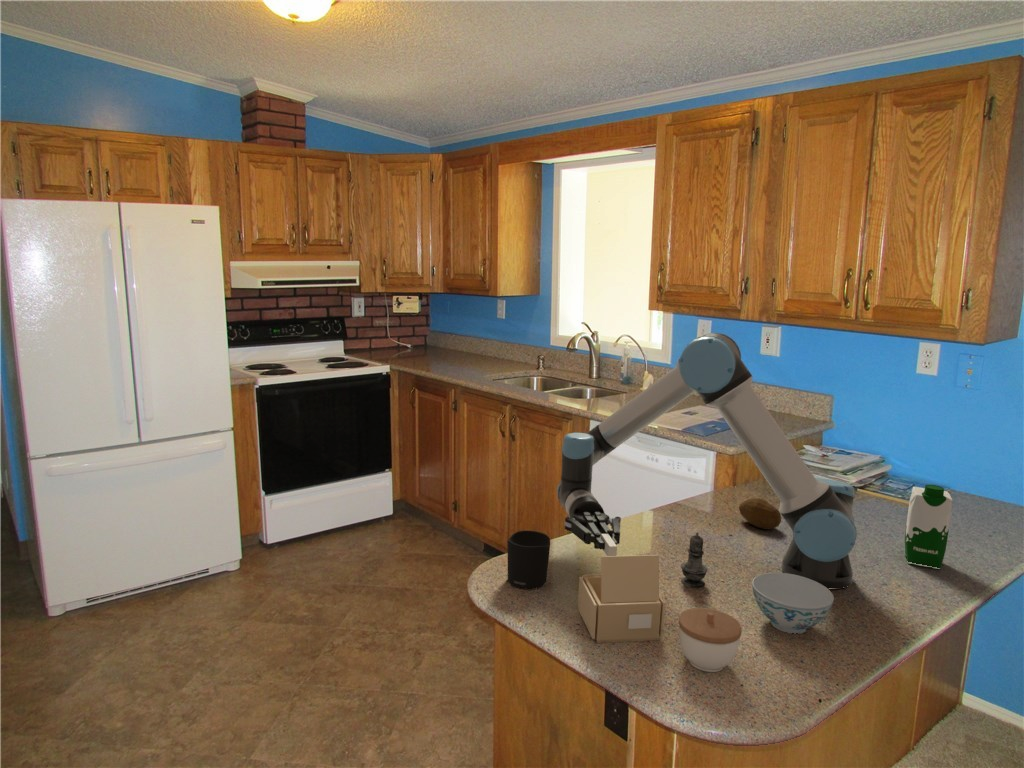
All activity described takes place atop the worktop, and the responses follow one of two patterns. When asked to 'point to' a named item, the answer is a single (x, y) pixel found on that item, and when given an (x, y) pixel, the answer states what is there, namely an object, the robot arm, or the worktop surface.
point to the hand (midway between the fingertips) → (613, 552)
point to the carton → (618, 615)
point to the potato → (760, 513)
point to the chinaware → (791, 601)
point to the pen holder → (528, 559)
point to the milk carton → (928, 525)
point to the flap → (629, 578)
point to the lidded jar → (709, 638)
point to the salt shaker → (694, 564)
